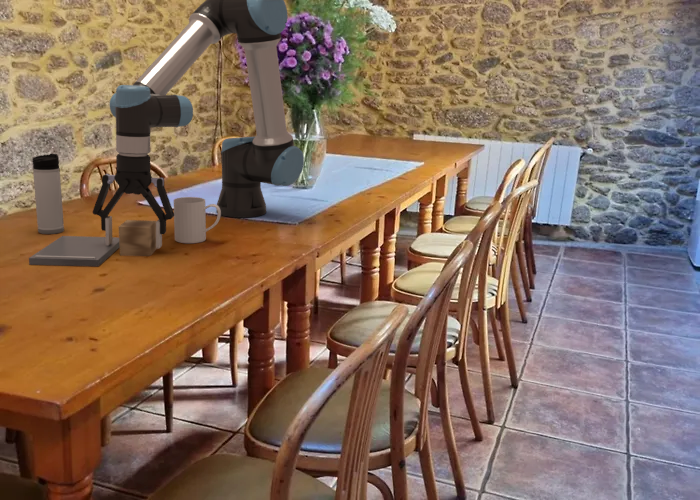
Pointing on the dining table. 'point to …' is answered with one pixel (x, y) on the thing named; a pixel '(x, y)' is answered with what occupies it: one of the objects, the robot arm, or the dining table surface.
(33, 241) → the dining table surface
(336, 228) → the dining table surface
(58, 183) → the travel mug
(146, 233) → the oak cube
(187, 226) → the mug
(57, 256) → the slate board
